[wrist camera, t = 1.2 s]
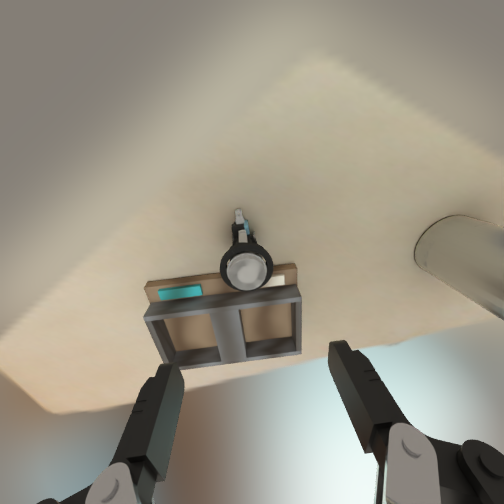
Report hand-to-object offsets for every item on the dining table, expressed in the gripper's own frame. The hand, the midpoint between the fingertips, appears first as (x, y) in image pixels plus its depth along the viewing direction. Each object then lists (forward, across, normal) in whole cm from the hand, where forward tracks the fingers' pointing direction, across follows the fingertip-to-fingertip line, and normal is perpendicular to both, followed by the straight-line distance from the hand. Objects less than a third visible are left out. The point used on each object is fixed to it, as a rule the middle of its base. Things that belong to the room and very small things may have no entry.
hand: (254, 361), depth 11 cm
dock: (+19, +4, +13) cm, 24 cm away
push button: (+20, 0, 0) cm, 20 cm away
